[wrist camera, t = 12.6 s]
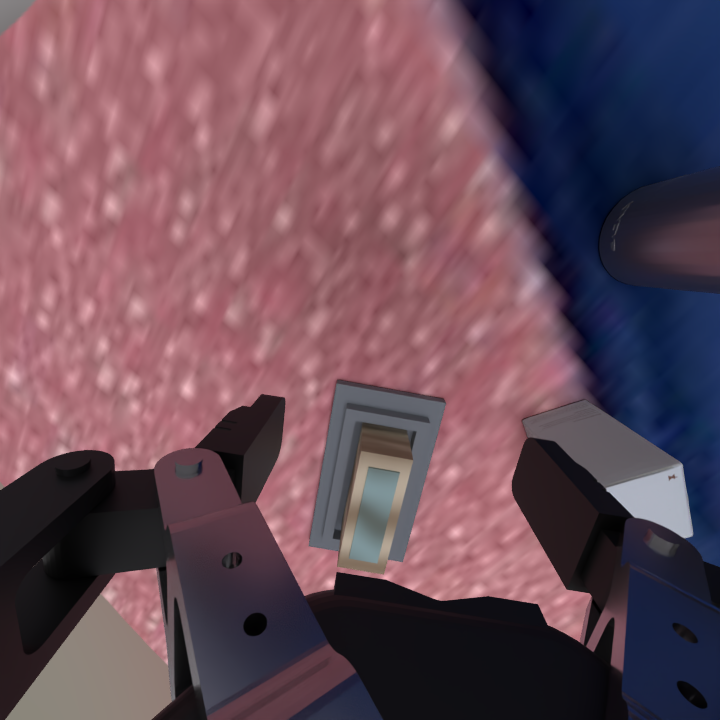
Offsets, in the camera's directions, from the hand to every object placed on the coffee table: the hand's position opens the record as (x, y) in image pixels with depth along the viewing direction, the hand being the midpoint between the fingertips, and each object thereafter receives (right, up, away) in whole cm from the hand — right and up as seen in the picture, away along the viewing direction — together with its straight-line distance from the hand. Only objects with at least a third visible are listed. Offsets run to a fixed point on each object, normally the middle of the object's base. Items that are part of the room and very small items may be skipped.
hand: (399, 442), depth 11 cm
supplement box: (+21, -6, +28) cm, 36 cm away
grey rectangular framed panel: (0, -11, +30) cm, 32 cm away
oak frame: (0, -11, +29) cm, 31 cm away
